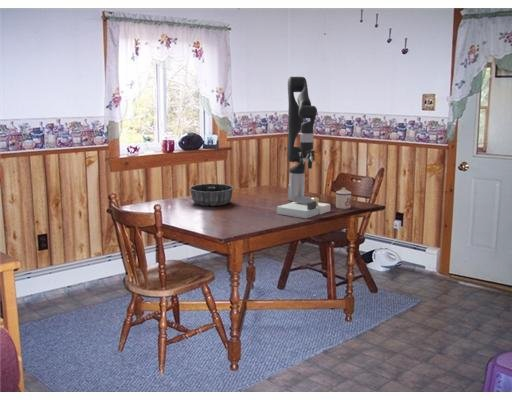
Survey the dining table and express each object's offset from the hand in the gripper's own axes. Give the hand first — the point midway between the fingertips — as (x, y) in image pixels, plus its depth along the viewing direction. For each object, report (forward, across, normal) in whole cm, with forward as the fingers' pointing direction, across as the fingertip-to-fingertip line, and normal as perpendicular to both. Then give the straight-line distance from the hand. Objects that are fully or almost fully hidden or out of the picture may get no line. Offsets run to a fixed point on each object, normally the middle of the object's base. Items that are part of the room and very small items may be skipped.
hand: (306, 169), depth 355 cm
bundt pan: (+24, +22, -52) cm, 61 cm away
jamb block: (+23, +2, +5) cm, 24 cm away
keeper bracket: (+19, +15, +13) cm, 27 cm away
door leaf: (+23, +15, +4) cm, 28 cm away
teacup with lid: (+23, -18, +16) cm, 34 cm away
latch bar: (+19, +6, +5) cm, 20 cm away
